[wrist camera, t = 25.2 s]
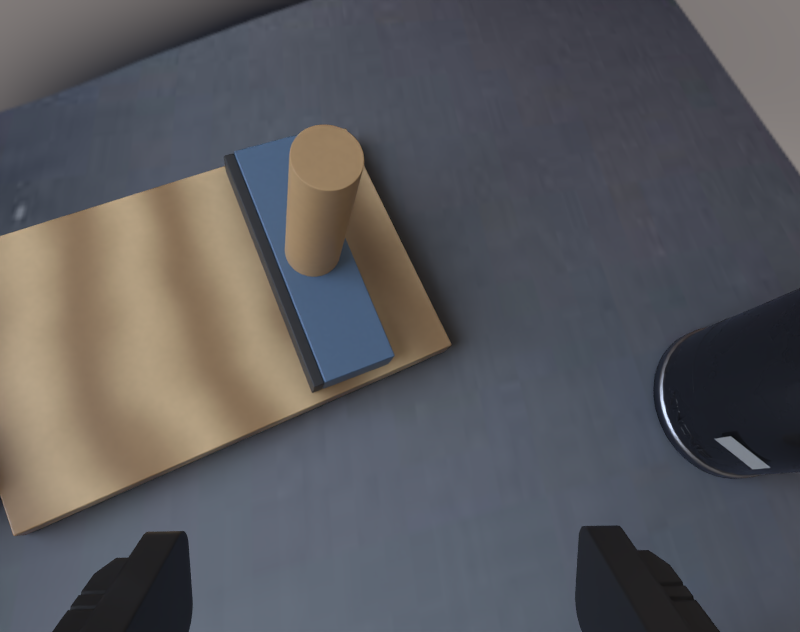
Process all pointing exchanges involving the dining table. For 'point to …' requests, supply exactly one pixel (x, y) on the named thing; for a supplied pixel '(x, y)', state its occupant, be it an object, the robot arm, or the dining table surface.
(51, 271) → the cutting board
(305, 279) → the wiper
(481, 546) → the dining table surface
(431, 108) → the dining table surface
